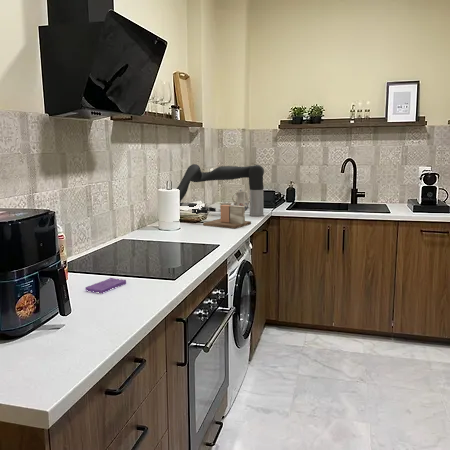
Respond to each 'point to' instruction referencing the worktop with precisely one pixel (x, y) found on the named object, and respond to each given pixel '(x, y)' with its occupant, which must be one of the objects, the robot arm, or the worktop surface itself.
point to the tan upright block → (225, 213)
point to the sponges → (105, 285)
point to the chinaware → (239, 199)
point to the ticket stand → (231, 219)
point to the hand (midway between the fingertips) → (211, 210)
